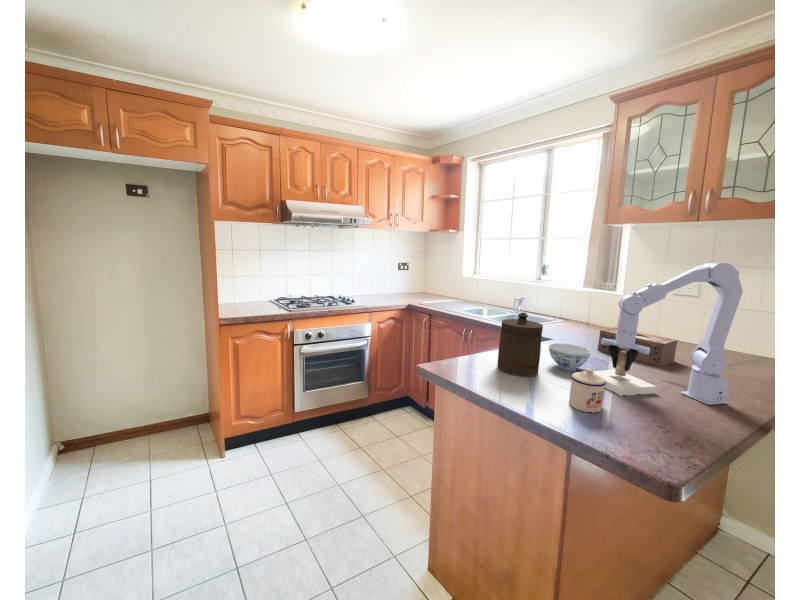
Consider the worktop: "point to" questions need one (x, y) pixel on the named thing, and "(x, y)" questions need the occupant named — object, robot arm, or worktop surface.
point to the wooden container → (520, 346)
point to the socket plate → (625, 383)
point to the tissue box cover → (659, 346)
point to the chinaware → (569, 355)
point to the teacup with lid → (587, 391)
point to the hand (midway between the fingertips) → (621, 368)
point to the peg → (621, 363)
